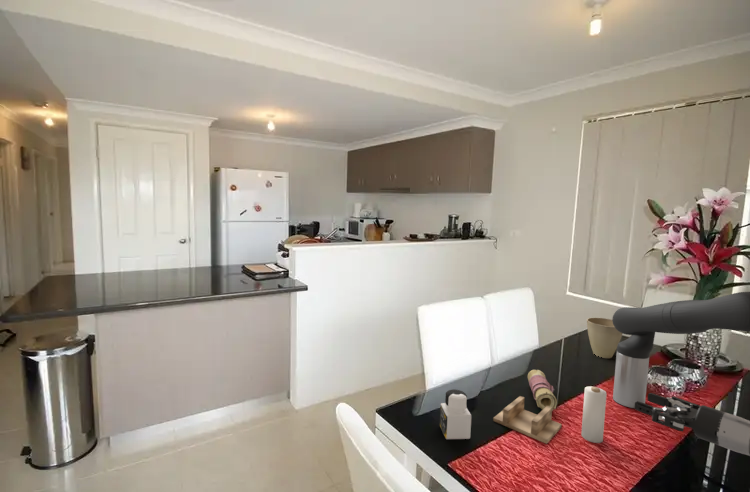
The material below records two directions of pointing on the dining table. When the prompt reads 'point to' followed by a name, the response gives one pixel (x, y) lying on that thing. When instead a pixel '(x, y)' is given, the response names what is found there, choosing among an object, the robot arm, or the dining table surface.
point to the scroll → (541, 389)
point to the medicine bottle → (455, 416)
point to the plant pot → (603, 336)
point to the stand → (528, 421)
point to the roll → (593, 414)
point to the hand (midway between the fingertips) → (641, 400)
